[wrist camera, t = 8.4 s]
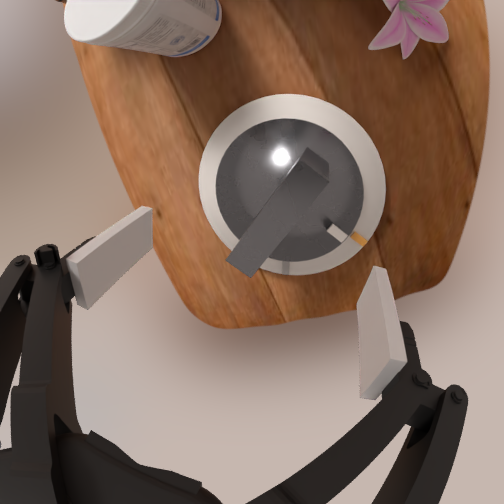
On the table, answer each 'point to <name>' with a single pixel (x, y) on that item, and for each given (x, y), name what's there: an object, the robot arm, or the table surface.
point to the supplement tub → (145, 24)
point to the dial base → (323, 117)
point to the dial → (287, 193)
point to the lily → (412, 25)
